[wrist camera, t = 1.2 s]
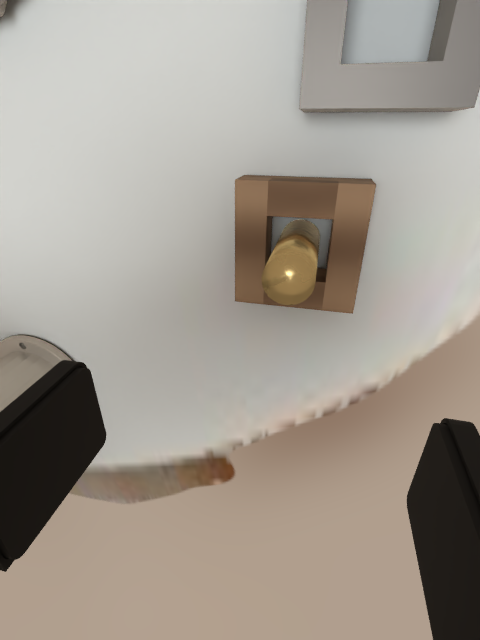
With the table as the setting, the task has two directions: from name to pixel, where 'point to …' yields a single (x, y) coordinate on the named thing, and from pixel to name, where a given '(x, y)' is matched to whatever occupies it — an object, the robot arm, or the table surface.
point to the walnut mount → (303, 202)
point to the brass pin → (293, 264)
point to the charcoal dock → (391, 66)
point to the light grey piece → (2, 7)
